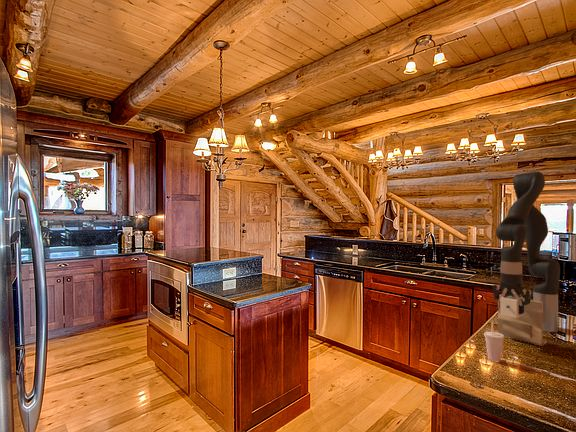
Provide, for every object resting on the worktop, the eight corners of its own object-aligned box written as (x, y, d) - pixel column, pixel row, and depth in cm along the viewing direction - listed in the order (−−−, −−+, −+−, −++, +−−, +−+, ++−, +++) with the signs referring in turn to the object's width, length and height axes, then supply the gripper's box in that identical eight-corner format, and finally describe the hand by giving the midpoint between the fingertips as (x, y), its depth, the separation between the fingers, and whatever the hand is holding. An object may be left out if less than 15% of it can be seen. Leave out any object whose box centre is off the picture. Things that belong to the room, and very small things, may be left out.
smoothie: (485, 355, 124) (485, 318, 124) (505, 359, 120) (505, 322, 120) (482, 360, 119) (482, 323, 119) (503, 365, 115) (503, 326, 115)
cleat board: (504, 332, 149) (504, 293, 148) (546, 343, 135) (546, 300, 135) (495, 336, 144) (495, 295, 144) (538, 348, 130) (538, 303, 130)
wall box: (508, 311, 140) (508, 295, 140) (524, 314, 135) (524, 297, 135) (499, 314, 135) (499, 298, 135) (515, 318, 130) (515, 301, 130)
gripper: (535, 273, 131) (535, 314, 131) (496, 268, 143) (496, 306, 143) (527, 275, 127) (527, 318, 127) (488, 270, 139) (488, 309, 139)
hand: (511, 312), depth 135 cm, fingers closed on wall box, 6 cm apart
